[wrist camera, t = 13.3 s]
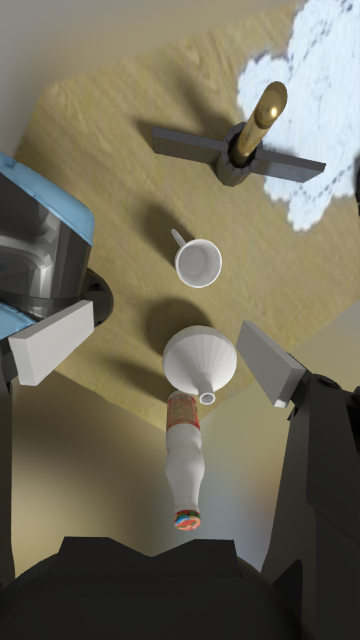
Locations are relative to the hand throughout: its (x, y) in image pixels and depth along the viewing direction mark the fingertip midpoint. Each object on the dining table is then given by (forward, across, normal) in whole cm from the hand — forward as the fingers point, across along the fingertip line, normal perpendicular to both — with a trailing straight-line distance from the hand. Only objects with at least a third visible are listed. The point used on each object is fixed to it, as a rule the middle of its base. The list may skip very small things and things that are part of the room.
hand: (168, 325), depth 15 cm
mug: (+29, +3, +6) cm, 30 cm away
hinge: (+29, +9, +24) cm, 38 cm away
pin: (+29, +9, +24) cm, 38 cm away
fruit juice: (+29, +8, -39) cm, 49 cm away
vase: (+29, +9, -18) cm, 35 cm away
